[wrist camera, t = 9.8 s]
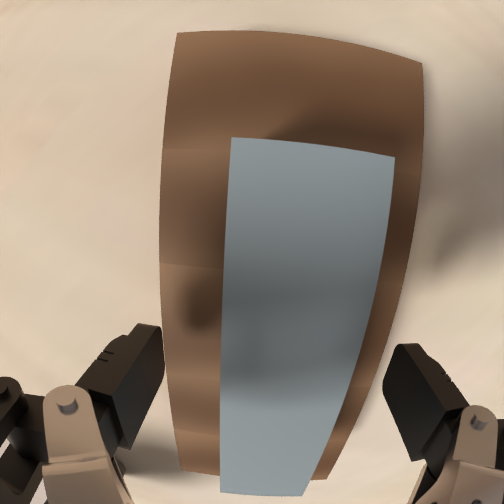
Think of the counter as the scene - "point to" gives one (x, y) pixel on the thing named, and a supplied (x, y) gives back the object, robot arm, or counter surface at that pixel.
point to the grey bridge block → (294, 303)
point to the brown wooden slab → (216, 192)
